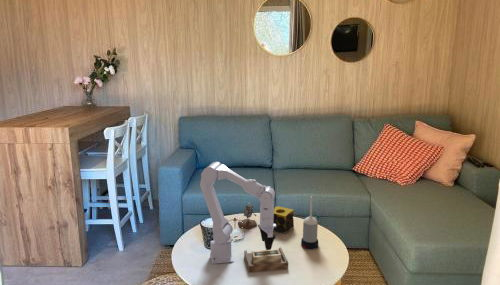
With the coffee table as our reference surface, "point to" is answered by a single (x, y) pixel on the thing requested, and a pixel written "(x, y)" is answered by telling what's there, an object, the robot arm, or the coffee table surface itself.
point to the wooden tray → (265, 266)
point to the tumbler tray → (266, 256)
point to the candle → (283, 219)
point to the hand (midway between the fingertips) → (266, 245)
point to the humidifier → (310, 231)
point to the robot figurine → (247, 222)
